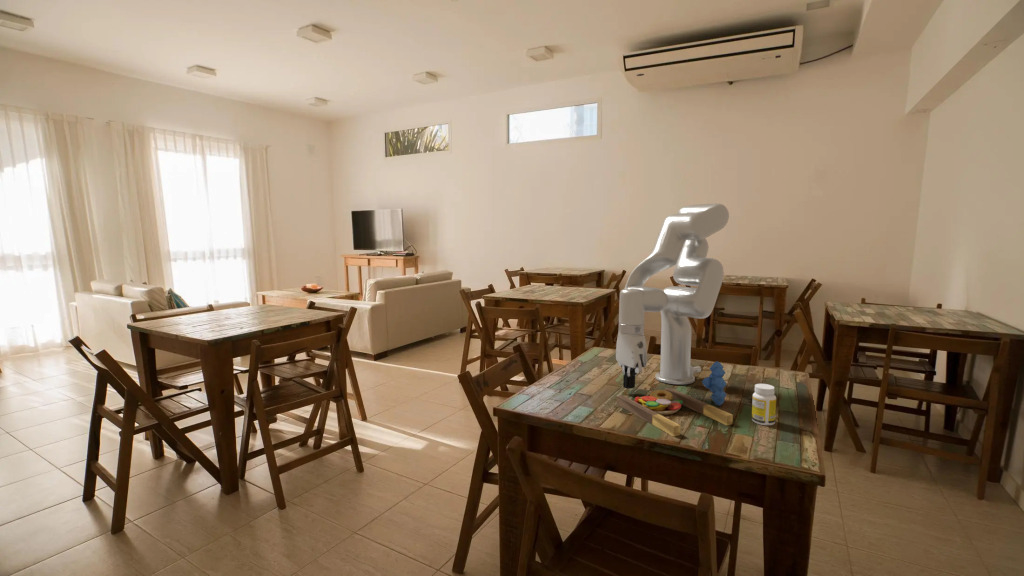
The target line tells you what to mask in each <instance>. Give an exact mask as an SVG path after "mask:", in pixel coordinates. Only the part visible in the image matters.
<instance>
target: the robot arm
mask: <svg viewBox="0 0 1024 576" xmlns="http://www.w3.org/2000/svg"><path fill="white" fill-rule="evenodd" d="M729 217H730V213H729V210H728V208H727V207H726V206H725V205H724V204H721V203H707V204H706V203H705V204H691V205H685V206H683V207H681V208H680V209H678V211H677V213H674V214H669V215H668V216H666V217H665V218H664V220H663V221H662V224H661V226H660V229H659V232H658V234H657V237H656V238H655V239H656V240H655V241H654V245H653V247H652V250H651V252H650V254H649V255H648V256H647V257H646V258H644V259H643V260H642V261H641V262H640V263H639V264H637V266H636V267H635V268H633V270H632V271H631V273H629V276H628V278H627V281H626V283H625V286H624V288H623V289H621V290H620V292H619V300H618V301H619V303H618V304H619V305H618V306H619V308H618V330H617V331H618V333H617V338H616V339H617V340H616V346H615V347H616V348H615V359H616V361H617V365H618V366H619V367H621V370H622V375H623V381H622V383H623V384H622V385H623V386H622V388H624V389H626V390H627V389H629V390H630V389H635V387H636V376H637V375H638V374H639V373H641V374H642V373H643V368H646V367H647V360H648V358H647V356H648V355H647V353H648V352H647V351H648V350H647V341H646V336H645V334H644V332H645V312H649V313H651V312H652V313H658V312H660V319H661V321H660V322H661V324H660V325H661V328H660V329H661V331H660V332H661V333H660V370H659V371H658V372H656V373H655V375H654V377H655V379H656V380H657V381H658V382H660V383H665V384H669V385H679V386H680V385H681V386H682V385H690V384H693V383H695V381H696V380H695V379H696V378H695V376H694V375H693V374H694V373H699V372H701V371H702V368H701V366H699V365H697V366H693V365H691V352H692V349H691V347H692V325H691V323H690V320H689V319H688V318H693V319H694V318H695V319H699V320H701V319H706V318H708V317H709V316H710V315H711V314H712V313H713V310H714V308H715V305H716V302H717V299H718V295H719V293H720V290H721V287H722V285H723V284H722V283H723V280H724V273H725V272H724V266H723V264H722V262H721V261H719V259H716V258H711V257H707V255H708V252H709V248H710V247H709V243H708V241H707V238H708V237H711V236H712V235H714V234H716V233H718V232H720V231H721V230H722V229H724V228H725V227H726V225H727V224H728V222H729V220H730V219H729ZM672 267H674V269H673V273H672V277H673V278H672V279H673V280H674V282H676V283H677V284H679V285H683V286H677V285H675V286H674V285H673V286H667V287H665V288H663V289H662V288H657V287H650V286H644V285H645V284H646V282H647V281H648V280H650V279H651V277H653V276H654V275H656V274H658V273H661V272H663V271H665V270H668V269H670V268H672ZM688 286H689V287H688Z"/></svg>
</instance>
